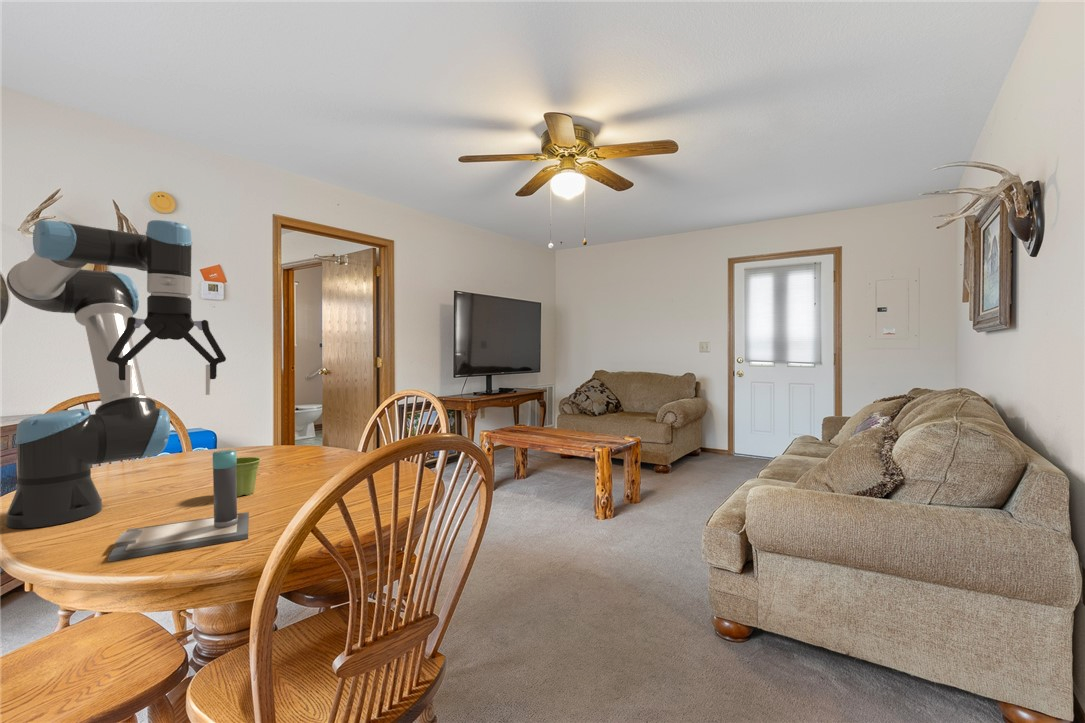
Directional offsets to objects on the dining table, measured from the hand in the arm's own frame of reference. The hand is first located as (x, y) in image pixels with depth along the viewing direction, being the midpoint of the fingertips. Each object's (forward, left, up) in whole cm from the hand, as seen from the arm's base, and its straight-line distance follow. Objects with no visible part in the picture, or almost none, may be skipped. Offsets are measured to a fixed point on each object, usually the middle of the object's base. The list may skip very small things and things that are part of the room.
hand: (169, 395), depth 106 cm
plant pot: (+12, +17, -28) cm, 35 cm away
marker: (+10, -12, -26) cm, 31 cm away
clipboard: (+4, -12, -27) cm, 30 cm away
